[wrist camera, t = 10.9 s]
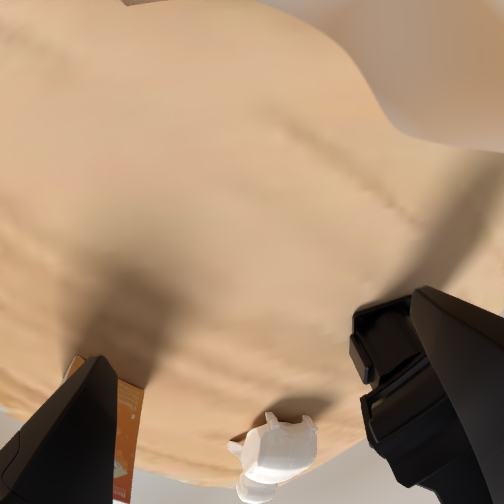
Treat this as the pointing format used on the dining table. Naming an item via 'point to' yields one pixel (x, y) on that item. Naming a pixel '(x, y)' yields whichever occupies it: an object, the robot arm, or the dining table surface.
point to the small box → (122, 434)
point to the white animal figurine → (273, 456)
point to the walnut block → (138, 1)
